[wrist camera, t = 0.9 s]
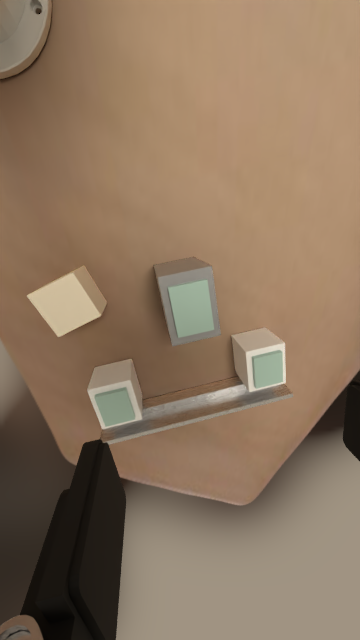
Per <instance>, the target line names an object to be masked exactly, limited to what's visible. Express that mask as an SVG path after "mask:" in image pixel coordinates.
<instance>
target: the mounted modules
mask: <svg viewBox="0 0 360 640" xmlns="http://www.w3.org/2000/svg"><path fill="white" fill-rule="evenodd" d="M231 337H232V346H233V355H234V364H235V372H236V373H237V375H238V376H239V378H240V379H241V381H242V382H243V384H244V385H245V387H246V388H247V390H248V391H249V392H252V391H256V390H260V389H264V388H268V387H272V386H276V385H280V384H284V383H286V372H285V342H283V341H282V340H281V339H280V338H278V337H277V336H276V335H275V334H273V333H272V332H271V331H269V330H268V329H267V328H266V327H264V328H260V329H256V330H252V331H247V332H243V333H239V334H234V335H231ZM87 392H88V394H89V397H90V399H91V402H92V404H93V407H94V409H95V412H96V414H97V417H98V419H99V422H100V425H101V427H102V429H106V428H110V427H114V426H118V425H122V424H126V423H130V422H134V421H138V420H142V392H141V388H140V385H139V381H138V378H137V374H136V371H135V368H134V364H133V361H132V359H127V360H123V361H119V362H115V363H110V364H106V365H102V366H97V367H95V368H94V371H93V374H92V377H91V380H90V383H89V386H88V389H87Z"/></svg>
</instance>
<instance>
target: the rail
mask: <svg viewBox="0 0 360 640" xmlns="http://www.w3.org/2000/svg"><path fill="white" fill-rule="evenodd" d="M291 397H293V393H292V392H291V391H290V390H289V389H288V388H287V386H286V385H285V384H280V385H276V386H272V387H268V388H264V389H260V390H256V391H252V392H249V391H248V390H247V388H246V387H245V385H244V384H243V382H242V381H241V379H240V378H239V376H237V377H233V378H229V379H225V380H221V381H217V382H213V383H209V384H205V385H201V386H197V387H193V388H189V389H185V390H181V391H177V392H173V393H168V394H164V395H160V396H156V397H152V398H148V399H144V400H142V420H138V421H134V422H130V423H126V424H122V425H118V426H114V427H110V428H106V429H102V432H101V437H100V439H101V440H102V442H103V443H105V442H107V443H108V445H109V444H113V443H117V442H121V441H125V440H129V439H133V438H136V437H140V436H144V435H148V434H152V433H156V432H160V431H163V430H167V429H171V428H175V427H179V426H183V425H187V424H191V423H194V422H198V421H202V420H206V419H210V418H214V417H218V416H221V415H225V414H229V413H233V412H237V411H241V410H245V409H248V408H252V407H256V406H260V405H264V404H268V403H272V402H276V401H279V400H283V399H287V398H291Z"/></svg>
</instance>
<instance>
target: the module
mask: <svg viewBox="0 0 360 640" xmlns="http://www.w3.org/2000/svg"><path fill="white" fill-rule="evenodd" d="M153 266H154V270H155V275H156V280H157V284H158V289H159V293H160V298H161V303H162V307H163V312H164V316H165V321H166V324H167V328H168V332H169V336H170V339H171V343H172V346H176V345H181V344H185V343H189V342H194V341H198V340H202V339H207V338H211V337H215V336H219V335H221V333H220V325H219V317H218V309H217V301H216V294H215V286H214V278H213V270H212V266H211V265H209V264H207V263H205V262H203V261H201V260H199V259H197V258H196V257H190V258H185V259H181V260H176V261H171V262H166V263H161V264H156V265H153Z"/></svg>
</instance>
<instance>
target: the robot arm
mask: <svg viewBox="0 0 360 640" xmlns="http://www.w3.org/2000/svg"><path fill="white" fill-rule="evenodd" d="M38 13H40V14H39V15H38ZM51 13H52V0H0V79H3V78H7V77H10V76H13V75H16V74H18V73H20V72H21V71H23V70H24V69H26V68H27V67H29V66H30V64H31V63H32V62H33V61H34V60H35V59H36V58H37V57H38V55H39V53H40V52H41V50H42V48H43V46H44V44H45V42H46V39H47V35H48V32H49V28H50V23H51ZM343 441H344V443H345V445H346V447H347V448H348V449H349V451H351V453H352V454H353V455H354V456H355V457H356V458H357V459H358V460H359V461H360V380H356V381H352V382H351V383H350V386H349V387H348V388H347V397H346V409H345V420H344V431H343ZM125 509H126V496H125V491H124V489H123V486H122V483H121V480H120V477H119V474H118V471H117V468H116V465H115V462H114V460H113V457H112V454H111V451H110V448H109V445H108V443H107V442H105V443H103V442H102V440H101V439H99V440H95V441H91V442H86V443H84V444H83V447H82V450H81V453H80V456H79V460H78V463H77V466H76V470H75V473H74V476H73V480H72V483H71V486H70V489H67V490H64V491H63V492H62V493H61V495H60V498H59V500H58V503H57V505H56V509H55V511H54V515H53V518H52V520H51V523H50V526H49V529H48V533H47V536H46V538H45V542H44V544H43V547H42V551H41V553H40V556H39V560H38V562H37V565H36V569H35V571H34V574H33V577H32V580H31V583H30V586H29V590H28V592H27V595H26V599H25V601H24V604H23V607H22V610H21V613H20V616H16V617H14V618H12V619H10V620H8V621H6V622H5V623H3V624H2V625H1V626H0V640H116V629H117V616H118V603H119V589H120V576H121V563H122V562H121V561H122V549H123V536H124V522H125Z"/></svg>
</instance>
